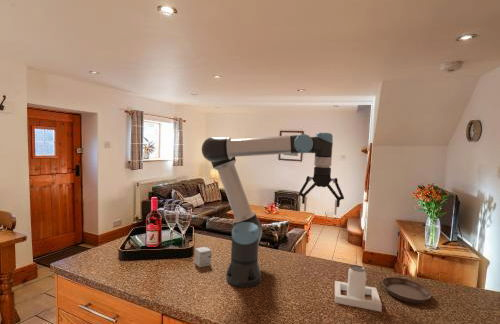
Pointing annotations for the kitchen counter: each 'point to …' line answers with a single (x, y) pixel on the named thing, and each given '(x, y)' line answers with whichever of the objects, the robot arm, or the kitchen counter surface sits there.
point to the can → (356, 282)
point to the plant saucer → (406, 290)
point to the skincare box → (202, 256)
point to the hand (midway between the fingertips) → (319, 212)
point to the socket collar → (358, 302)
